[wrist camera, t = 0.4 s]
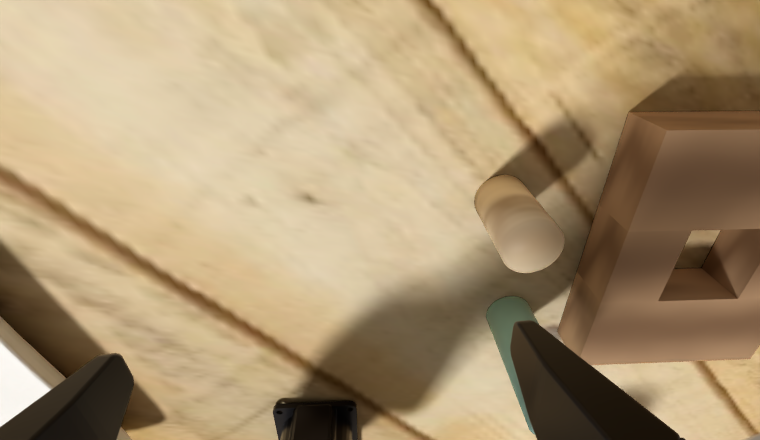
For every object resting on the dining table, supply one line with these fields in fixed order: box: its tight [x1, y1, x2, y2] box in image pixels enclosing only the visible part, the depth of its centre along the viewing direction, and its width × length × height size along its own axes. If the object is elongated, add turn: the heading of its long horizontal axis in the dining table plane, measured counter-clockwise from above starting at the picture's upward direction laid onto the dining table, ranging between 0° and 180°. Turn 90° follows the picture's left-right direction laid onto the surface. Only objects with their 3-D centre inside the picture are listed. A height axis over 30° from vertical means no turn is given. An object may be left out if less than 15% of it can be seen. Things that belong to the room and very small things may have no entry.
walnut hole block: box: [557, 111, 760, 365], centre depth 24 cm, size 16×12×3 cm
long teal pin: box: [486, 296, 539, 434], centre depth 25 cm, size 3×3×8 cm
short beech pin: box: [474, 175, 565, 273], centre depth 21 cm, size 3×3×5 cm
